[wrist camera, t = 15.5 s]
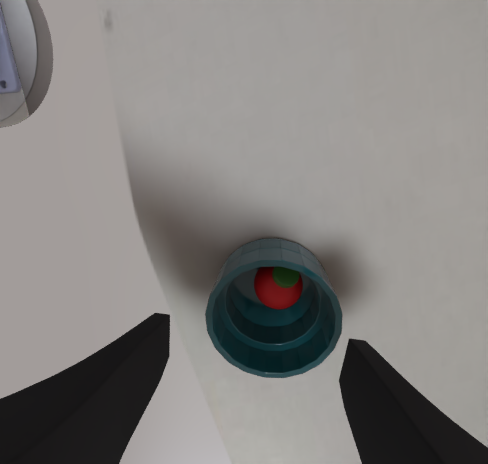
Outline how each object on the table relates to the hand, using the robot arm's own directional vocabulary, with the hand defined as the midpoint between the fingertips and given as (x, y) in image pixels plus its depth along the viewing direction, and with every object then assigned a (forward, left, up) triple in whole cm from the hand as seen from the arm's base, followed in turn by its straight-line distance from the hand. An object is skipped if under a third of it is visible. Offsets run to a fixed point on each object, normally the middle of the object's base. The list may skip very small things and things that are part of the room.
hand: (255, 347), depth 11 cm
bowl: (+1, -2, -9) cm, 10 cm away
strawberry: (+1, -2, -8) cm, 9 cm away
